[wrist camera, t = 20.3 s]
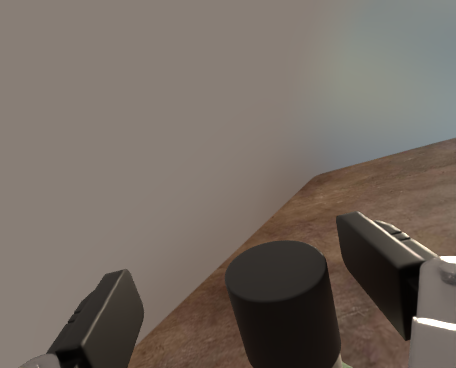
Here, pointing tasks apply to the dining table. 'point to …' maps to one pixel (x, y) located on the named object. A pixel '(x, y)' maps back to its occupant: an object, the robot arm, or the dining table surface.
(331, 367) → the marker
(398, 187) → the dining table surface
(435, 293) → the robot arm
